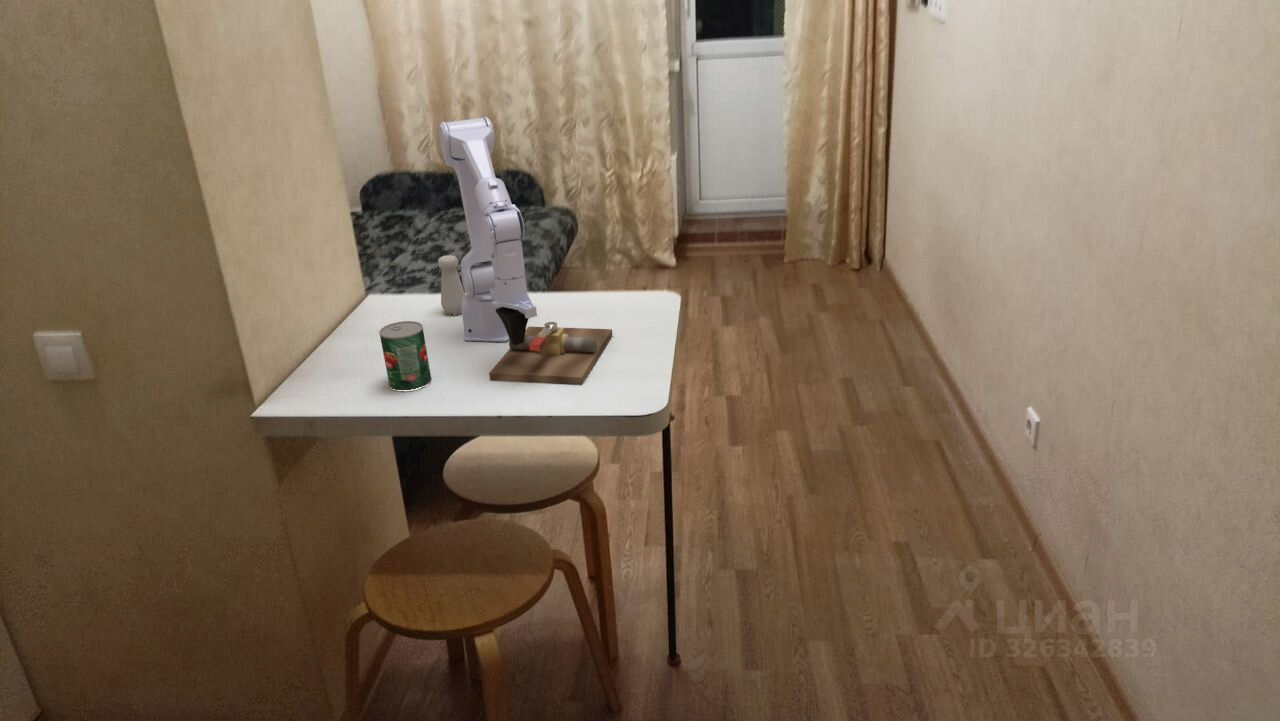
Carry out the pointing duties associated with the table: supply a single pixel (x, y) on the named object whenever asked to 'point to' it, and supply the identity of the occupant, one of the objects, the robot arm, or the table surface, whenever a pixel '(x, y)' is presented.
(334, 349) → the table surface
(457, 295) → the salt shaker
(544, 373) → the valve board
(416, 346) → the canned tomato
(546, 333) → the valve lever
